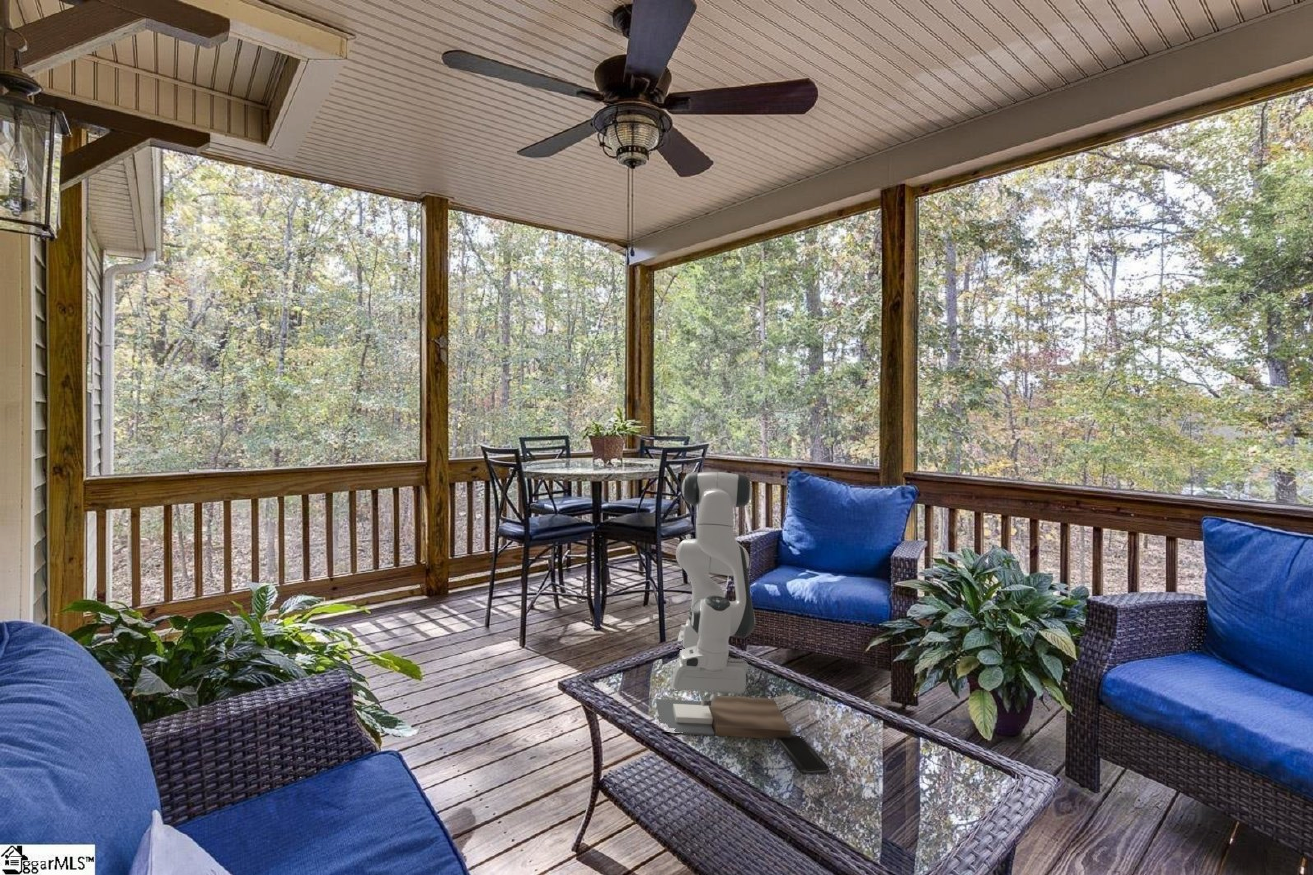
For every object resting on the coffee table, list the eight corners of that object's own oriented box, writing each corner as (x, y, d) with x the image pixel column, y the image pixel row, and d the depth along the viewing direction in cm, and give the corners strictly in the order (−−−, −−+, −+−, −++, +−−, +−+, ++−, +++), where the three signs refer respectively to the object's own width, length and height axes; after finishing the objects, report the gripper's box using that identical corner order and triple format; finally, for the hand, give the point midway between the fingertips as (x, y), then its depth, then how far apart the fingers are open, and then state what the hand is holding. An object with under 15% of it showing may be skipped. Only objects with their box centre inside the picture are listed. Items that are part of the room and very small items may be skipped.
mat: (656, 700, 175) (656, 698, 175) (703, 703, 176) (704, 701, 176) (661, 732, 158) (661, 731, 158) (714, 735, 159) (714, 733, 159)
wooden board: (705, 703, 176) (706, 695, 176) (772, 707, 178) (773, 698, 178) (715, 735, 159) (716, 726, 159) (789, 739, 161) (790, 730, 161)
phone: (802, 771, 146) (775, 736, 160) (801, 776, 146) (774, 740, 160) (831, 769, 148) (801, 735, 162) (830, 774, 148) (801, 739, 162)
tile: (672, 709, 170) (673, 703, 170) (707, 710, 171) (708, 705, 171) (675, 722, 163) (676, 716, 163) (712, 724, 164) (712, 718, 164)
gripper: (746, 654, 171) (741, 701, 172) (674, 649, 169) (669, 697, 170) (751, 664, 165) (746, 713, 165) (676, 659, 163) (671, 709, 164)
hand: (706, 705), depth 168 cm, fingers closed
